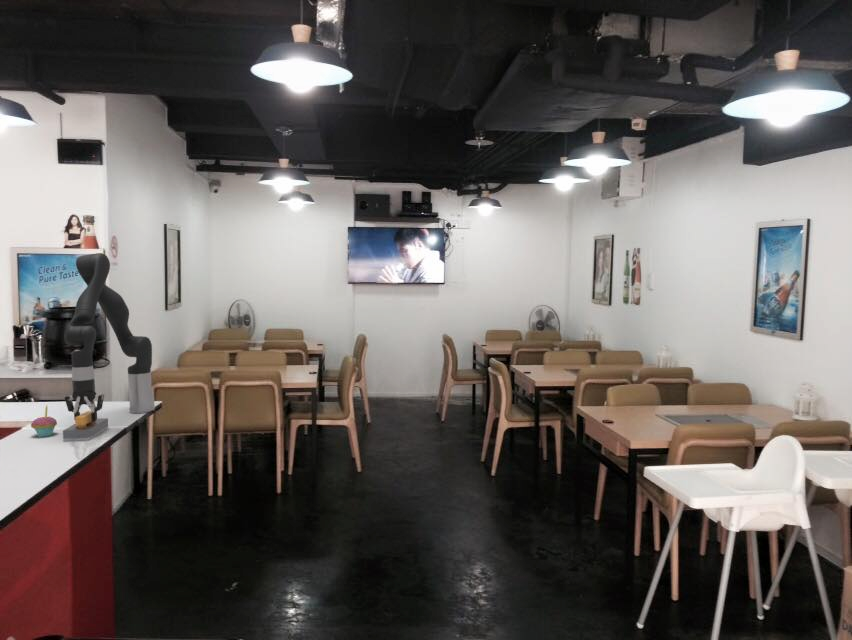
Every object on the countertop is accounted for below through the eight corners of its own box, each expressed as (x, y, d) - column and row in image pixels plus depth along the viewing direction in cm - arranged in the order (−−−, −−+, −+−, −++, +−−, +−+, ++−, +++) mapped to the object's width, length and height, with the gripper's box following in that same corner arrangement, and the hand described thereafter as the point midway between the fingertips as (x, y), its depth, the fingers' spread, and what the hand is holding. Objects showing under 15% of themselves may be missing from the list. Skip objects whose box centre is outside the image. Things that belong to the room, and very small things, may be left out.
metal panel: (85, 428, 262) (84, 418, 262) (108, 428, 263) (107, 418, 263) (63, 441, 244) (62, 430, 244) (88, 440, 245) (87, 429, 245)
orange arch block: (89, 428, 259) (88, 410, 258) (96, 428, 259) (95, 410, 258) (76, 435, 248) (75, 417, 247) (84, 435, 248) (83, 417, 248)
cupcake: (62, 433, 256) (60, 402, 255) (43, 439, 248) (41, 407, 247) (46, 431, 259) (43, 401, 258) (26, 437, 251) (24, 406, 250)
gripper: (106, 375, 256) (109, 418, 257) (68, 376, 255) (71, 420, 256) (98, 379, 248) (101, 423, 250) (59, 380, 247) (61, 424, 249)
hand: (85, 421), depth 253 cm, fingers open, 5 cm apart
